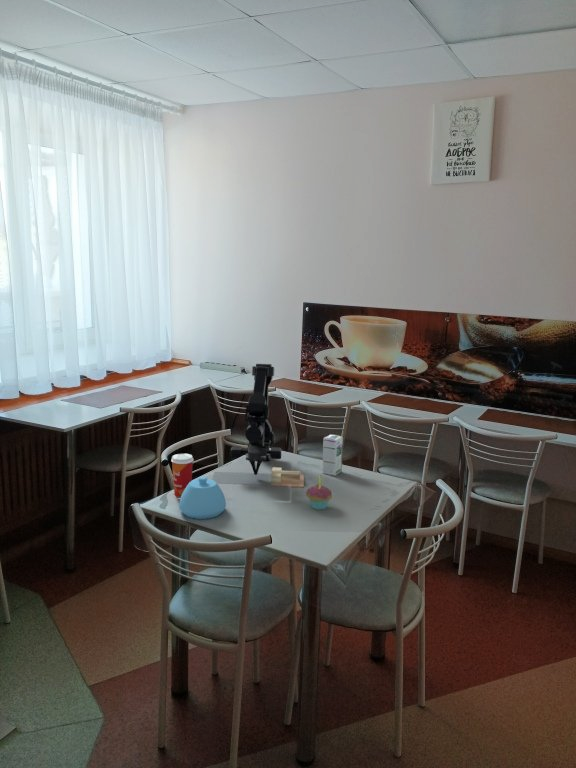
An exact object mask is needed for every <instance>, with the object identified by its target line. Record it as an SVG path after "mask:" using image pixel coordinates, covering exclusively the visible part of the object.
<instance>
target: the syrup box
mask: <svg viewBox="0 0 576 768" xmlns="http://www.w3.org/2000/svg"><path fill="white" fill-rule="evenodd" d="M322 440H323V442H322V443H323V445H322V474H324V475H325V474H326V475H330V476H337V475H338V474H340V473H341V472H342V470H343V446H344V445H343V441H344V438H343V436H342V435H338V434H329V435H327V436H324V437H323V439H322Z"/></svg>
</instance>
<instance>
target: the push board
mask: <svg viewBox="0 0 576 768" xmlns="http://www.w3.org/2000/svg"><path fill="white" fill-rule="evenodd" d="M213 472H214V473H213V475H212V477H211V480H214V481H215V482H216V483H217V484H224V485H251V486H252V485H255V486H276V485H275V484H271V474H272V473H266V472H264V473H262V472H261V473H259V472H258V473H257V475H254V472H236V471H235V472H234V471H233V472H231V471H213ZM304 478H305V475H304V474H300V482H281V485H278V487H279V486H280V487H281V486H283V487H285V486H286V487H287V486H288V487H290V488H304V487H305V485H304V484H305V483H304V482H305V479H304Z"/></svg>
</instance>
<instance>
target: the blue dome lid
mask: <svg viewBox="0 0 576 768" xmlns="http://www.w3.org/2000/svg"><path fill="white" fill-rule="evenodd" d="M179 499H180V500H179V504H178V505H179V510H180V511H181V513H182V514H184V515H185V516H186V517H188V518H190V519H194V518H195V519H196V520H208V519H212V518H216V517H218V516H220V515H221V514H222V513H223V512H224V510H226V506H227V502H226V497H225V494H224V492H223V490H222V488H221V487H220V485H219V483H216V482H215V481H214V480H212V478H211V479H210V478H208V477H207V476H199V477H198V478H197V479H192V481H191V482H190V483H189V484H188V485H187V487H186V488H185V490H184V491H183V493H182V495H181V498H179ZM207 518H208V519H207Z"/></svg>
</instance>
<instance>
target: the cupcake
mask: <svg viewBox="0 0 576 768" xmlns="http://www.w3.org/2000/svg"><path fill="white" fill-rule="evenodd" d="M321 482H322V476H321V474H319V476H318V485H313V486H311V487H310V488H308V489H307V491H306V497H307V498H308V499H309V500H310V503H311V508H313V509H315V510H324V509H326V508H327V506H328V503H329V502H330V501H329V500H331V499H332V497H333V495H332V490H331V489H330V488H328V487H326V486H324V485H322V483H321Z"/></svg>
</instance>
